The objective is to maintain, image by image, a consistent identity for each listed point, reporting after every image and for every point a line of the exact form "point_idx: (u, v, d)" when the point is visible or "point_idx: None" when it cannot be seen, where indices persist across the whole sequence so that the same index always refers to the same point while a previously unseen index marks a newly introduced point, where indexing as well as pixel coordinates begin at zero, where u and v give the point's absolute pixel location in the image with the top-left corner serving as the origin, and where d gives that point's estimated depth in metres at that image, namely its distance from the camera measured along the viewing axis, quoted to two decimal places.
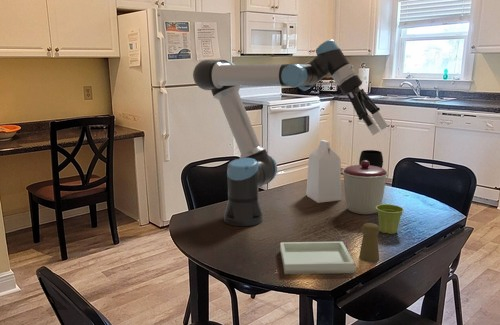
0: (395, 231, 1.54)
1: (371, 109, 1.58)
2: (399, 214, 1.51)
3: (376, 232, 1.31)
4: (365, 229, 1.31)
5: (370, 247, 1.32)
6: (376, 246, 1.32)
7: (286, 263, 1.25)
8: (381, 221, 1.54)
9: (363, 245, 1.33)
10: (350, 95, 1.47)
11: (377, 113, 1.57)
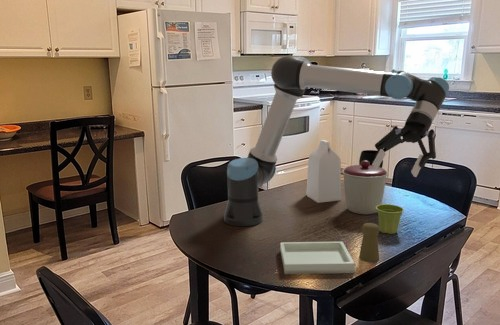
0: (395, 231, 1.54)
1: (387, 147, 1.43)
2: (399, 214, 1.51)
3: (376, 232, 1.31)
4: (365, 229, 1.31)
5: (370, 247, 1.32)
6: (376, 246, 1.32)
7: (286, 263, 1.25)
8: (381, 221, 1.54)
9: (363, 245, 1.33)
10: (433, 133, 1.35)
11: (384, 154, 1.43)
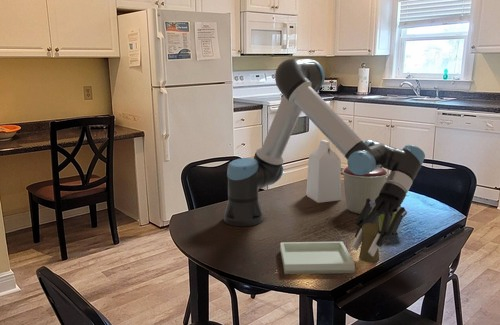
0: None
1: None
2: None
3: (376, 232, 1.31)
4: (365, 229, 1.31)
5: None
6: None
7: (286, 263, 1.25)
8: (381, 221, 1.54)
9: (363, 245, 1.33)
10: (403, 212, 1.32)
11: None
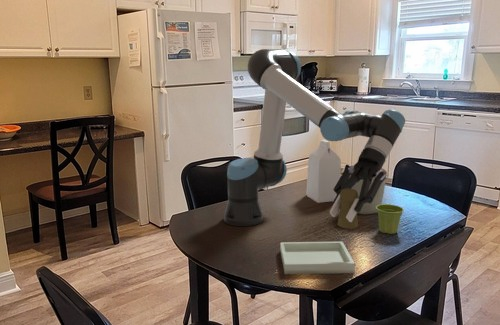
0: (395, 231, 1.54)
1: None
2: (399, 214, 1.51)
3: (354, 197, 1.27)
4: (343, 194, 1.27)
5: None
6: None
7: (286, 263, 1.25)
8: (381, 221, 1.54)
9: (341, 211, 1.29)
10: (382, 176, 1.27)
11: None
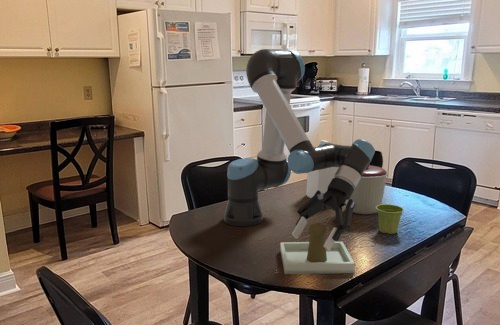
0: (395, 231, 1.54)
1: (309, 214, 1.36)
2: (399, 214, 1.51)
3: (322, 233, 1.28)
4: (311, 229, 1.29)
5: (316, 248, 1.29)
6: (323, 247, 1.29)
7: (286, 263, 1.25)
8: (381, 221, 1.54)
9: (310, 246, 1.30)
10: (352, 203, 1.29)
11: (305, 222, 1.36)
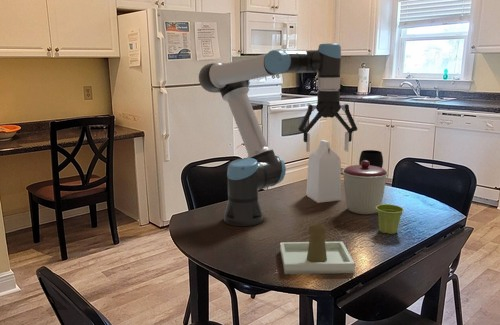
0: (395, 231, 1.54)
1: (310, 128, 1.52)
2: (399, 214, 1.51)
3: (322, 233, 1.28)
4: (311, 229, 1.29)
5: (316, 248, 1.29)
6: (323, 247, 1.29)
7: (286, 263, 1.25)
8: (381, 221, 1.54)
9: (310, 246, 1.30)
10: None
11: None
